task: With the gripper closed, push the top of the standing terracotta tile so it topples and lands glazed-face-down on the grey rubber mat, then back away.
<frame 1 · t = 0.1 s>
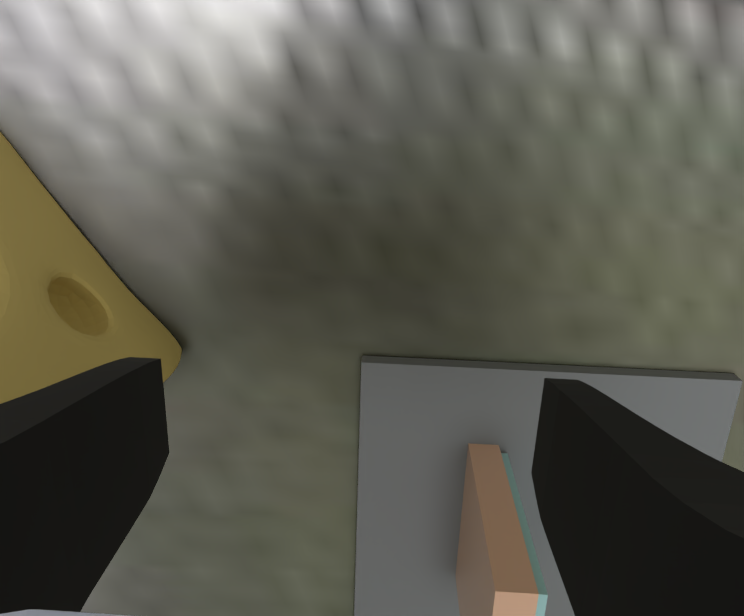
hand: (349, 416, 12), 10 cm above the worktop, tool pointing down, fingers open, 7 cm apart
mat: (526, 506, 24), on the worktop
tile: (476, 513, 23), point 1 cm above the worktop, touching mat
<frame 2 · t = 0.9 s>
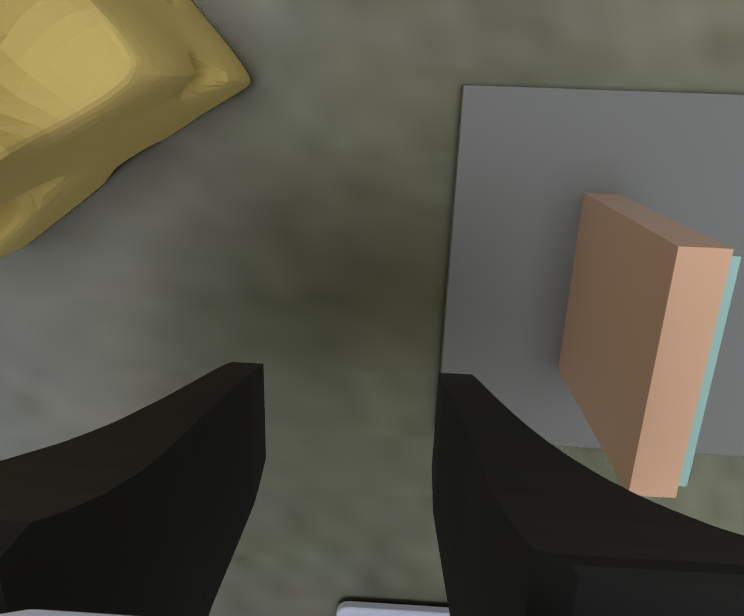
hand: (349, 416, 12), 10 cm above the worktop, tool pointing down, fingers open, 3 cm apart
mat: (643, 283, 21), on the worktop
cheese: (28, 35, 19), on the worktop
tile: (587, 285, 20), point 1 cm above the worktop, touching mat
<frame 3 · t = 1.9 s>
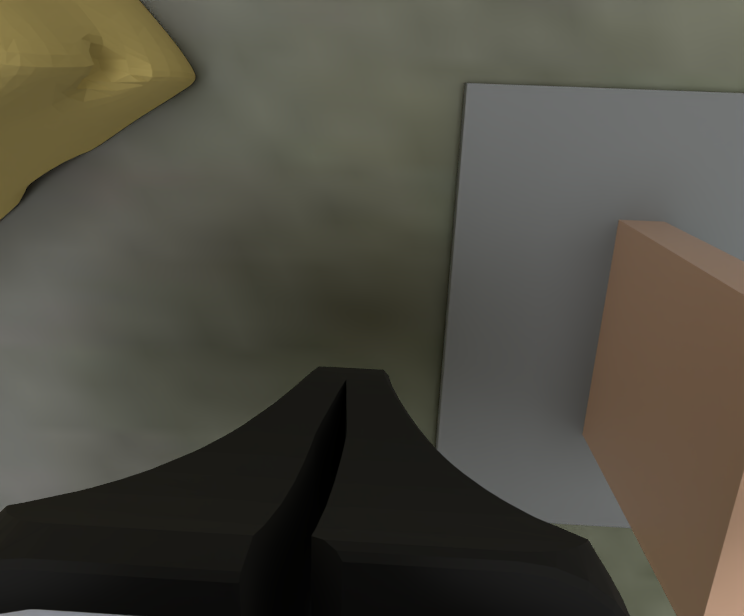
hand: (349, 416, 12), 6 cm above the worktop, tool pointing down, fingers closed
mat: (688, 330, 17), on the worktop
tile: (620, 334, 16), point 1 cm above the worktop, touching mat
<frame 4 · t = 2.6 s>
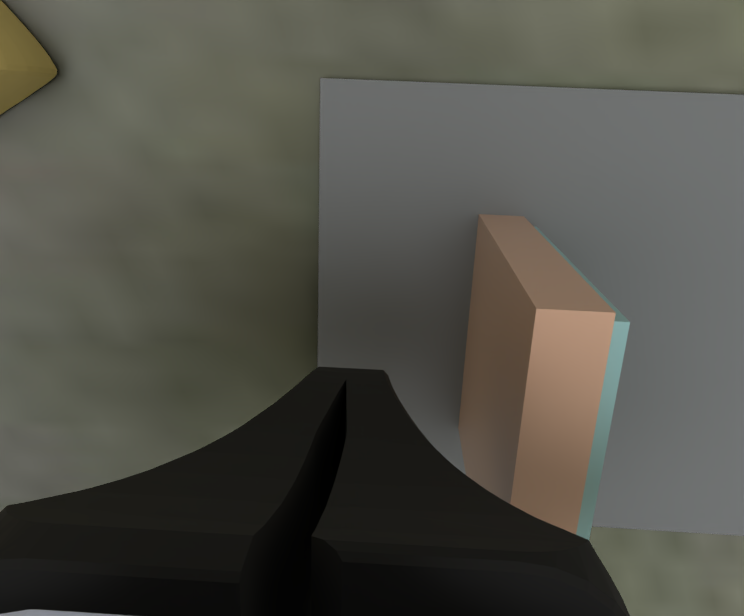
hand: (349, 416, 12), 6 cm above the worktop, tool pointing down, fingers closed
mat: (560, 324, 17), on the worktop
tile: (488, 328, 16), point 1 cm above the worktop, touching mat
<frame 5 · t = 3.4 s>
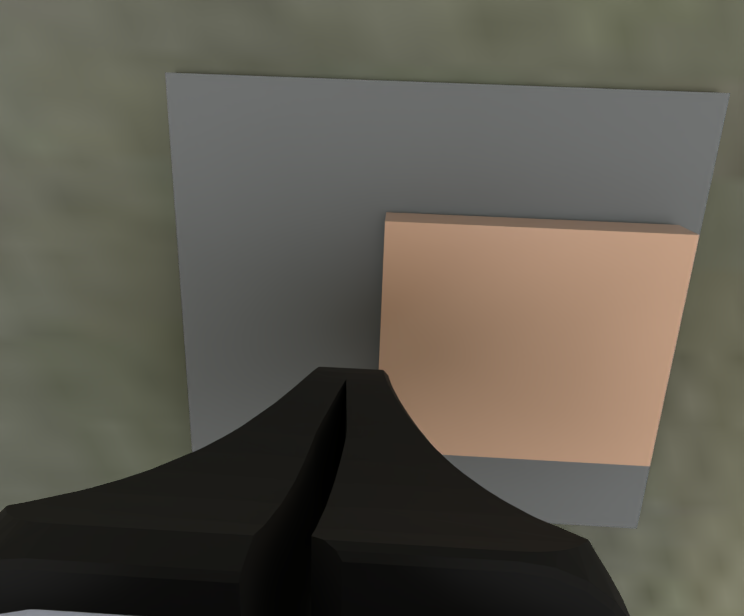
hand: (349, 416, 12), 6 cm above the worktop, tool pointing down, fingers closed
mat: (425, 317, 17), on the worktop
tile: (380, 335, 16), point 1 cm above the worktop, tilted 90°, touching mat
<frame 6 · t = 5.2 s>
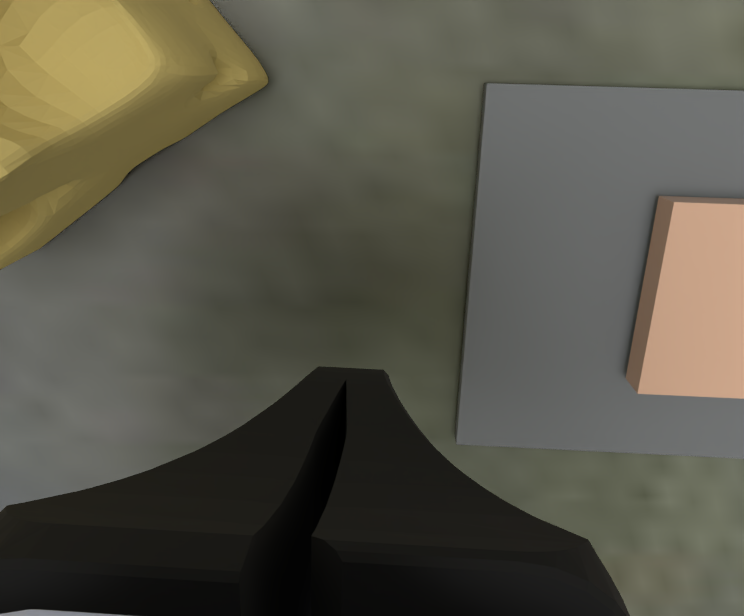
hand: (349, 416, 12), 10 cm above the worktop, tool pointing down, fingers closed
mat: (668, 284, 20), on the worktop
cheese: (40, 35, 19), on the worktop
tile: (647, 297, 19), point 1 cm above the worktop, tilted 90°, touching mat
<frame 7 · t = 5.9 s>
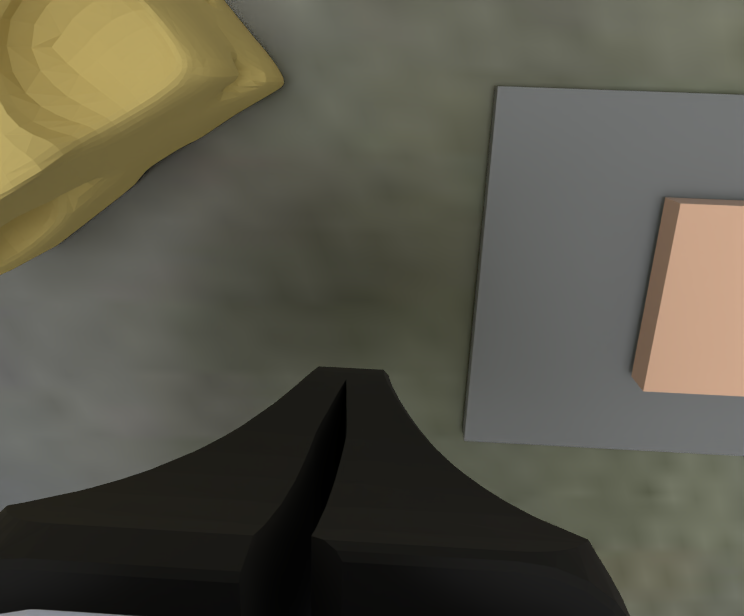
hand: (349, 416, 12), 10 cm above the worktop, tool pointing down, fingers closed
mat: (673, 284, 21), on the worktop
cheese: (59, 36, 19), on the worktop
tile: (653, 296, 19), point 1 cm above the worktop, tilted 90°, touching mat
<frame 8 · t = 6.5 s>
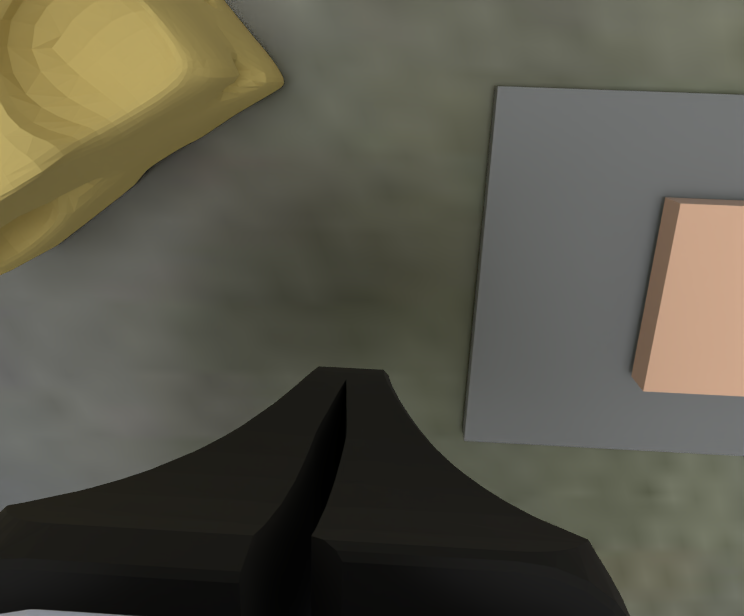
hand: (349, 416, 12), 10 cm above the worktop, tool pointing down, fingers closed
mat: (673, 284, 21), on the worktop
cheese: (59, 36, 19), on the worktop
tile: (653, 296, 19), point 1 cm above the worktop, tilted 90°, touching mat
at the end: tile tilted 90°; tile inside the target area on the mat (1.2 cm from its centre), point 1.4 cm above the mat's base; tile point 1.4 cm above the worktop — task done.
